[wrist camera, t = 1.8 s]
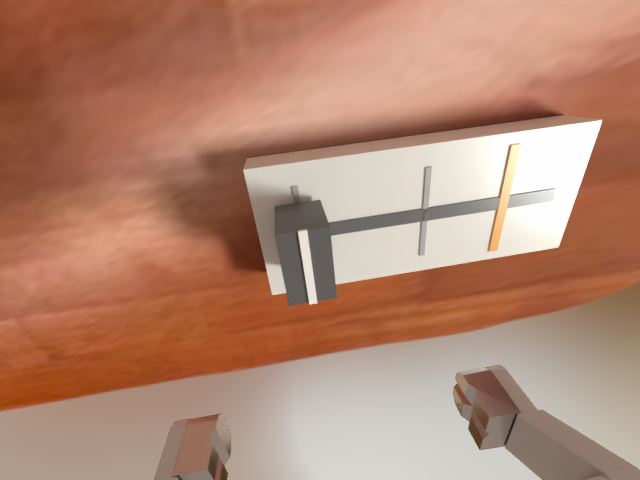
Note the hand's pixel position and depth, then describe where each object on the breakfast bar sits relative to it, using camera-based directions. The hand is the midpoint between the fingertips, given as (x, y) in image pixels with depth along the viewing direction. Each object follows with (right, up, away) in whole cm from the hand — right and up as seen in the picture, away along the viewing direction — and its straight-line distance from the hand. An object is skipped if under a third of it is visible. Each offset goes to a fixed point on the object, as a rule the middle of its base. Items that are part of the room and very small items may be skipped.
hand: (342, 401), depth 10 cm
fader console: (+6, +9, +14) cm, 18 cm away
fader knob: (-2, +6, +10) cm, 12 cm away
